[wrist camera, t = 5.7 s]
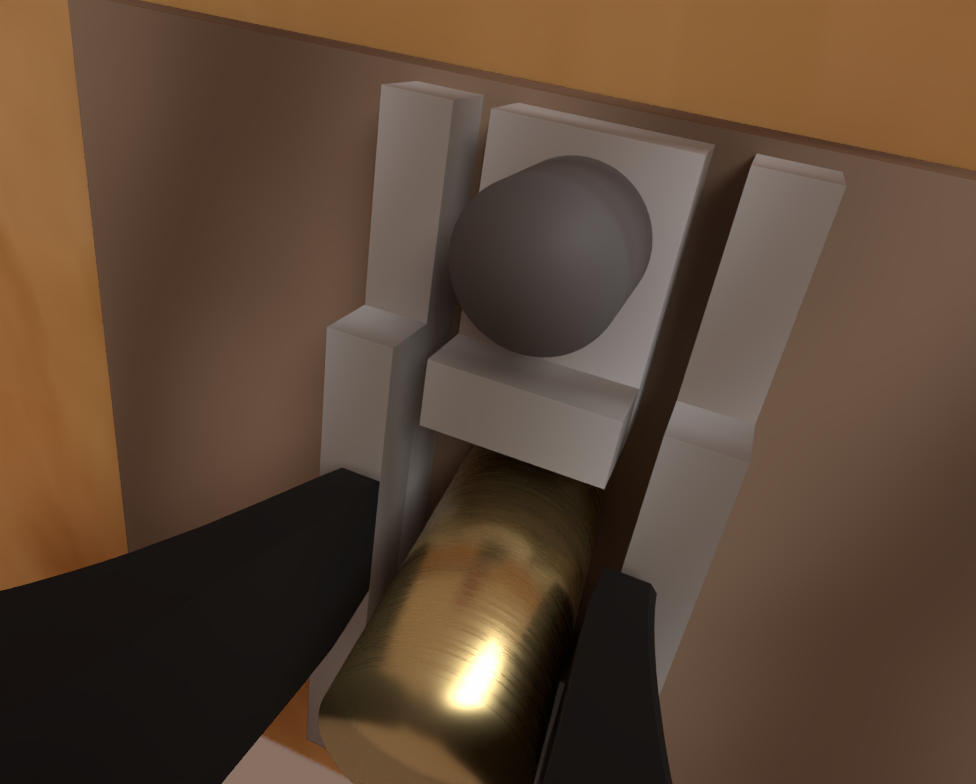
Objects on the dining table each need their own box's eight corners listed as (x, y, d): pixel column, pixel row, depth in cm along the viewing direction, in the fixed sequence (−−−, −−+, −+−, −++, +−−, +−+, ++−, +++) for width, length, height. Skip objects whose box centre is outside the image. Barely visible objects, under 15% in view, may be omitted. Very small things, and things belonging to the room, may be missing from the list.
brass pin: (633, 524, 12) (576, 817, 7) (510, 565, 13) (401, 840, 9) (555, 403, 11) (446, 648, 7) (435, 457, 12) (277, 696, 8)
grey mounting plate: (1456, 269, 8) (1852, 407, 5) (948, 886, 13) (987, 1121, 11) (116, -5, 12) (-98, -20, 9) (161, 541, 18) (36, 638, 15)
